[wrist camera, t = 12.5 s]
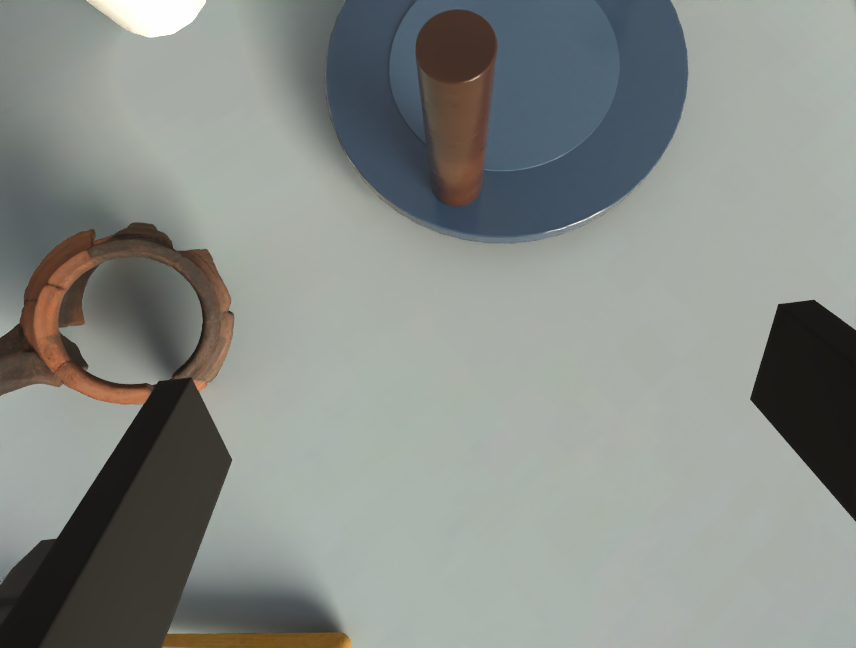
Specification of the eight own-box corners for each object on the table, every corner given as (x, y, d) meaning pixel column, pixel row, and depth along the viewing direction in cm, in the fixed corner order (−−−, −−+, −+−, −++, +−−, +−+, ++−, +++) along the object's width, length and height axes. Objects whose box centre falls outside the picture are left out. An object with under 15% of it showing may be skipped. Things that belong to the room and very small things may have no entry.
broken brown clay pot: (171, 202, 29) (159, 176, 22) (263, 335, 32) (281, 354, 25) (-48, 314, 26) (-152, 329, 18) (76, 453, 28) (31, 517, 21)
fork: (347, 628, 23) (-72, 627, 24) (345, 676, 22) (-87, 674, 23) (357, 620, 26) (-26, 619, 26) (354, 663, 25) (-38, 661, 25)
